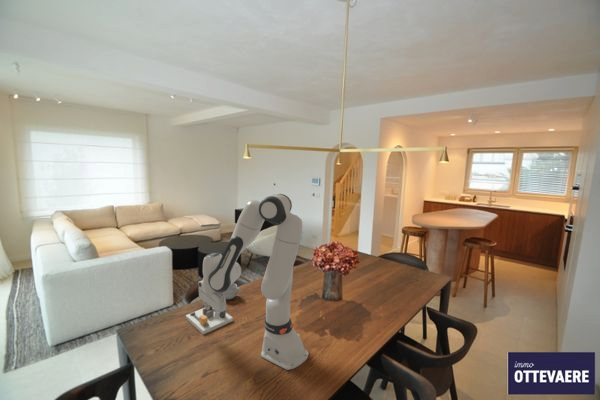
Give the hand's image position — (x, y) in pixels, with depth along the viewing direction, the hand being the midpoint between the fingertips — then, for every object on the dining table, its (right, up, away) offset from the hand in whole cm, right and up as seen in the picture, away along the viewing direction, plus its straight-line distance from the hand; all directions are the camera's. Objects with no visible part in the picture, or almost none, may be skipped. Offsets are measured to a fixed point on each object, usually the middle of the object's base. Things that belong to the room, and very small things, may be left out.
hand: (212, 312), depth 129 cm
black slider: (0, -8, +16) cm, 18 cm away
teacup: (-1, -8, +40) cm, 41 cm away
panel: (-7, -10, +16) cm, 20 cm away
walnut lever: (-7, -7, +16) cm, 19 cm away
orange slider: (-7, -9, +8) cm, 14 cm away
